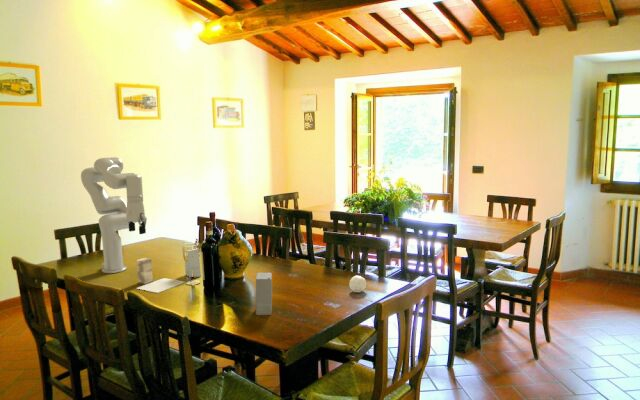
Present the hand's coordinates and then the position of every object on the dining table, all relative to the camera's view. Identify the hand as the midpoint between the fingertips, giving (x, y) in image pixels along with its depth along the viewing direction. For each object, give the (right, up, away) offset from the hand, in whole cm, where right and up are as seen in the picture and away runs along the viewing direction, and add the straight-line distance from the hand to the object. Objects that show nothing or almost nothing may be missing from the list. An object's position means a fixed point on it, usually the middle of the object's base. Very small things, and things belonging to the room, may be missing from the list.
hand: (137, 232), depth 240 cm
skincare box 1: (+26, -24, +9) cm, 36 cm away
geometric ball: (+111, -26, -21) cm, 116 cm away
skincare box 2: (+70, -30, -43) cm, 88 cm away
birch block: (+4, -26, -1) cm, 26 cm away
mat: (+14, -26, -6) cm, 30 cm away
